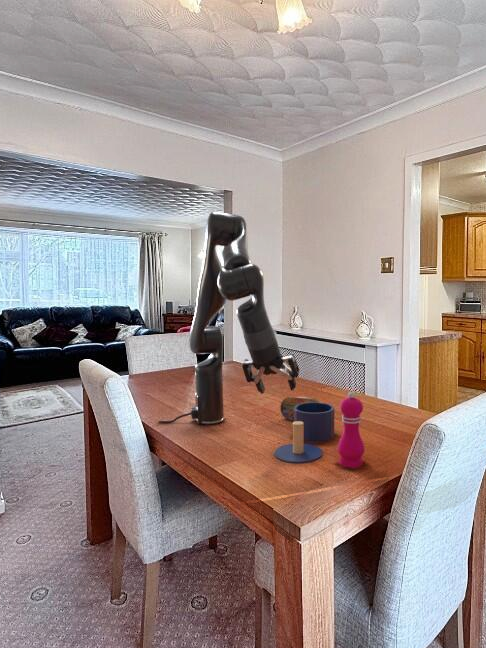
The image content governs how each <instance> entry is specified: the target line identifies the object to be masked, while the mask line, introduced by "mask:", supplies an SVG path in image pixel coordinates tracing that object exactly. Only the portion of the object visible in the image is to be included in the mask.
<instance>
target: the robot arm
mask: <svg viewBox="0 0 486 648" xmlns="http://www.w3.org/2000/svg"><path fill="white" fill-rule="evenodd" d="M248 243H249V242H248V227H247V222H246V220H245V218H244V217H243V216H241V215H238V214H233V213H228V212H222V211H212V212H210V213H209V215H208V217H207V221H206V228H205V239H204V249H203V258H202V259H203V260H202V266H201V272H200V277H199V281H198V288H197V296H196V305H195V310H194V311H195V312H194V316H193V320H192V324H191V328H190V332H189V339H188V341H189V342H188V343H189V345H188V346H189V349H190V351H191V352H192V353H193V354H194V355H205V354H210V355H209V356H208V357H207V358H206V359H205V360H203V361H201V362H199V363H197V364H196V365H195V367H194V370H195V371H194V372H195V373H194V375H195V393H194V399H195V407H190V412H187V413H184V414H181V415H179V416H176V417H175V418H173V419H172V420H158V424H171V423H174V422H176V421H177V420H179V419H181V418H184V417H187V416H190V417H191V419H192V420H195V421H196V423H197V425H217V424H220V423H222V422H224V421H225V416H224V415H225V413H224V405H225V404H224V381H223V379H224V378H223V375H224V374H223V367H224V365H223V364H224V358H223V357H224V334H223V330H222V329H221V327H220V326H218V325H212V326H210V325H209V326H207V325H208V324H209V322H210V321H211V320H212V319H213V317H215V316H216V315H217V314H218V313H219V312H220V311H221V310H222V309H223V307H224V306H225V304H226V302H227V301H230V302H231V301H232V302H233V301H238V300H240V299H245V298H248V297H250V296H251V297H250V298H249V299H248V300H246V301H245V302H243V303H242V304H240V305H239V306H238V307H237V309H236V316H237V320H238V321H239V324H240V328H241V331H242V334H243V338H244V342H245V345H246V346H247V350H248V353H249V355H250V358H251V360H249V359H247V358H245V359H244V361H243V363H242V366H241V367H242V370H243V374H244V377H245V380H246V382H247V383H254V385H255V387H256V390H257V392H259V393H260V394H264V393H265V391H266V388H265V385H264V381H263V379H262V376H263V375H265V376H270V375H277V374H278V375H279V376H281V377H284V378H286V379H287V382H288V385H289V389H290V391H294V390H295V389H296V386H297V382H296V378H299V373H300V368H299V365H298V362H297V360H296V357H295V354H294V353H290V354H289V355H287V356H283V354H282V353H281V349H280V347H279V344H278V340H277V337H276V334H275V331H274V328H273V325H272V324H271V321H270V318H269V316H268V312H267V309H266V305H265V295H264V294H265V293H264V291H265V282H264V281H265V280H264V274H263V271H262V270H261V268H260V267H259V266H258V265H256V264H254V263H252V261H251V259H250V255H249V251H248V250H249V249H248ZM217 246H220V247H223V250H222V251H221V256H220V257H221V258H220V257H219V256H218V253H217V248H216V247H217ZM220 259H221V260H220ZM220 261H221V262H220ZM286 364H287V365H286ZM288 366H289V367H288ZM252 368H255V369H256V370H257V372H256V373H255V374H253V370H252Z"/></svg>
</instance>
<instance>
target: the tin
mask: <svg viewBox="0 0 486 648" xmlns="http://www.w3.org/2000/svg"><path fill="white" fill-rule="evenodd" d="M308 402H320V401H319V400H317V399H316V398H313V397H303V396H295V395H294V396H293V395H292V396H288V397H285V398H284V399H282V402H281V403H280V408H279V409H280V413H281V415H282V417H283V418H285V419H286V420H287V421H292V422H294V406H296V405H298V404H301V403H308Z"/></svg>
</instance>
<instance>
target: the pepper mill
mask: <svg viewBox="0 0 486 648" xmlns="http://www.w3.org/2000/svg"><path fill="white" fill-rule="evenodd" d="M339 410H340V412H341V414H342V415H341V421H342V422H343V430H342V434H341V437H340V439H339V440H338V443H337V453H338V454H339V455H340V456H339V457H338V463H339V465H341V466H342V467H345V468H350V469H351V468H354V469H355V468H359V467H362V466H363V463H364V460H363V457H362V456H363V455H364V454H365V452H366V451H365V443H364V441H363V439H362V437H361V434H360V423H361V421H362V419H361V418H362V416H361V414H363V413H362V412H363V410H364V405H363V402H362V401H361V400H360V399H359V398H357V397H356V394H355V392H354V391H350V392H348V394H347V397H346V398H344V399H342V400H341V402H340V405H339Z"/></svg>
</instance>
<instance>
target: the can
mask: <svg viewBox="0 0 486 648" xmlns="http://www.w3.org/2000/svg"><path fill="white" fill-rule="evenodd" d="M295 421H301V422H303V423H304V442H307V443H322V442H327V441H330V440H333V438H334V437H335V406H334V405H332V404H331V403H326V402H321V401H319V402H308V403H301V404H298V405H296V406H294V421H293V422H295Z"/></svg>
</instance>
